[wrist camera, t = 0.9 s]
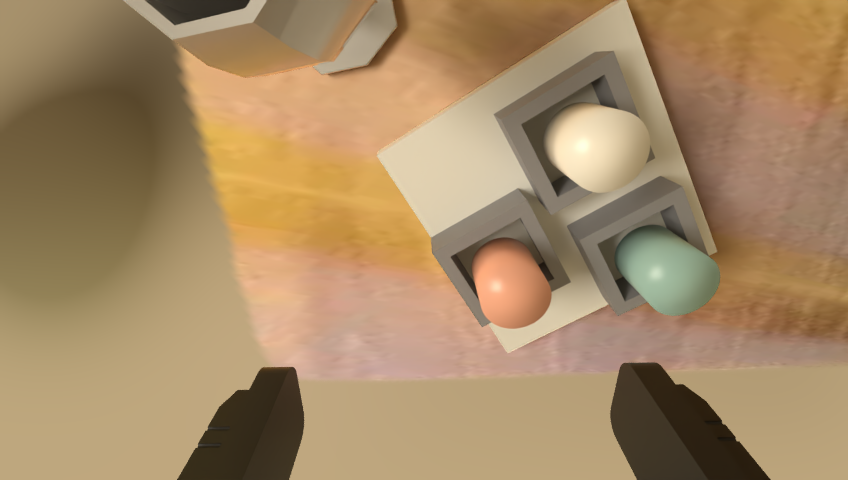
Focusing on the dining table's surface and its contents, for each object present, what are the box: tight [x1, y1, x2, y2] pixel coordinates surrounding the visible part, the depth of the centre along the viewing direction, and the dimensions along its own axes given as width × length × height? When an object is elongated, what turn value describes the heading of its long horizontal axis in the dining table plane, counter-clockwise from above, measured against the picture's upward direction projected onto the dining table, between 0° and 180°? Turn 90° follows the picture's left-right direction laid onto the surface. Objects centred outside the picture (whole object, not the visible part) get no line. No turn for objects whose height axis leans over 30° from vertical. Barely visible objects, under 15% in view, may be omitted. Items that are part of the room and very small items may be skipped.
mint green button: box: [614, 225, 720, 316], centre depth 30 cm, size 5×5×5 cm
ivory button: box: [543, 102, 650, 193], centre depth 26 cm, size 5×5×5 cm
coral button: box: [471, 237, 552, 329], centre depth 30 cm, size 5×5×5 cm
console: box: [377, 0, 717, 353], centre depth 33 cm, size 20×22×5 cm
